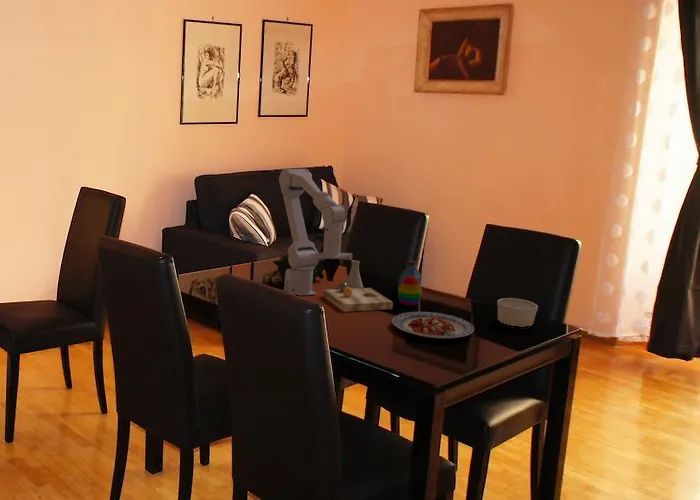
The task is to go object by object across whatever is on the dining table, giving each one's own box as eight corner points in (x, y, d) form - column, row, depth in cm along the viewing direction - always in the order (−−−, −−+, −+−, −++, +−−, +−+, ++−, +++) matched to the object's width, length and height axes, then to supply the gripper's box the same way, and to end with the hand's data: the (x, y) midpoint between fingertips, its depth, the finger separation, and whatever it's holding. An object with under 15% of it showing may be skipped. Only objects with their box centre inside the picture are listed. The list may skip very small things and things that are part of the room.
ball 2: (344, 297, 274) (345, 288, 273) (341, 295, 277) (341, 286, 276) (353, 297, 275) (354, 288, 274) (349, 294, 278) (350, 285, 277)
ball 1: (340, 292, 280) (341, 283, 279) (337, 290, 282) (337, 281, 282) (349, 292, 281) (349, 283, 280) (345, 290, 284) (346, 281, 283)
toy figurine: (318, 280, 311) (263, 280, 295) (325, 232, 308) (270, 230, 292) (332, 286, 303) (277, 287, 288) (339, 237, 300) (284, 235, 285)
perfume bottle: (397, 293, 295) (400, 261, 292) (404, 289, 300) (407, 258, 298) (413, 296, 292) (416, 264, 290) (420, 292, 298) (423, 261, 295)
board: (343, 311, 266) (344, 304, 266) (323, 296, 282) (323, 289, 282) (392, 309, 274) (392, 301, 273) (369, 294, 290) (370, 287, 289)
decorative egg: (425, 305, 281) (427, 277, 279) (408, 308, 276) (410, 280, 274) (409, 299, 287) (411, 272, 285) (392, 302, 282) (394, 274, 280)
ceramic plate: (379, 319, 262) (380, 311, 261) (449, 316, 271) (450, 308, 270) (412, 346, 238) (413, 336, 237) (488, 342, 247) (489, 332, 247)
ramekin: (536, 321, 273) (539, 301, 272) (534, 332, 261) (537, 311, 259) (497, 315, 276) (499, 295, 275) (493, 325, 264) (495, 305, 262)
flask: (363, 290, 294) (365, 264, 292) (343, 289, 294) (345, 262, 292) (363, 285, 301) (365, 259, 299) (344, 284, 301) (346, 258, 299)
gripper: (316, 244, 262) (314, 284, 265) (357, 243, 268) (354, 282, 271) (308, 239, 269) (306, 279, 271) (348, 239, 275) (345, 277, 277)
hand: (329, 280), depth 272 cm, fingers closed
